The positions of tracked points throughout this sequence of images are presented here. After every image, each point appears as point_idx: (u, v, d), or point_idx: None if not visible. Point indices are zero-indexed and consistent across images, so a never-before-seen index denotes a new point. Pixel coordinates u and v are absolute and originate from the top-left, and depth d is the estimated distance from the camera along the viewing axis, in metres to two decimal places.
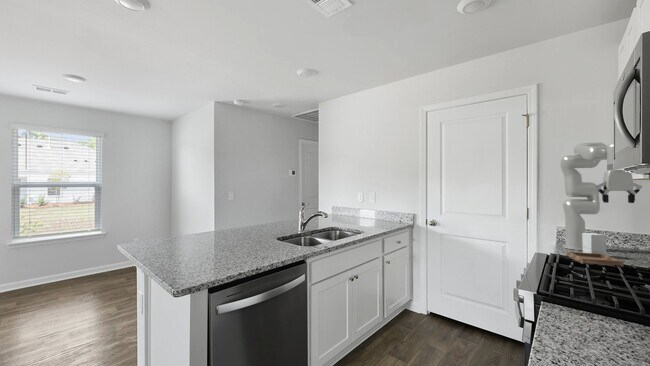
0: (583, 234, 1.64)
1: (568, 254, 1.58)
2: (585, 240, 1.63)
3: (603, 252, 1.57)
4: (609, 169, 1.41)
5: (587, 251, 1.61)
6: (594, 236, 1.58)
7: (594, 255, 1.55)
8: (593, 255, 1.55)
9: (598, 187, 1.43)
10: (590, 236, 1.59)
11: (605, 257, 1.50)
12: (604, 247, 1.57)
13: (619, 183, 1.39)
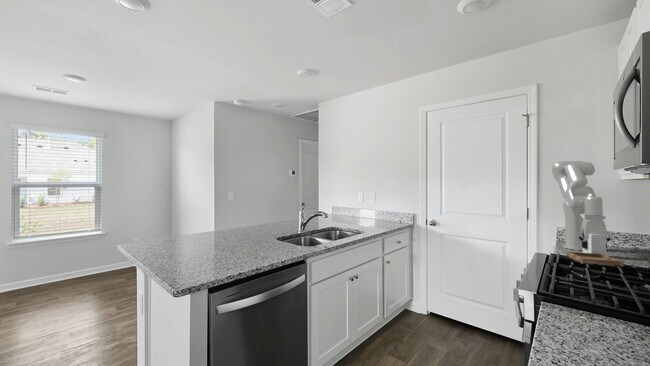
0: (583, 234, 1.64)
1: (568, 254, 1.58)
2: None
3: (603, 252, 1.57)
4: (586, 219, 1.62)
5: (587, 251, 1.61)
6: (594, 236, 1.58)
7: (594, 255, 1.55)
8: (593, 255, 1.55)
9: (578, 235, 1.63)
10: (590, 236, 1.59)
11: (605, 257, 1.50)
12: (604, 247, 1.57)
13: (594, 231, 1.59)
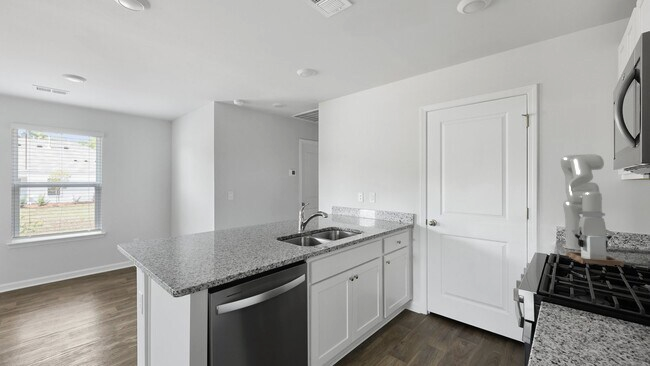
0: None
1: (568, 254, 1.58)
2: (583, 242, 1.52)
3: (603, 255, 1.46)
4: (584, 216, 1.50)
5: (585, 254, 1.50)
6: (593, 238, 1.47)
7: None
8: None
9: (574, 232, 1.52)
10: (589, 238, 1.48)
11: None
12: (604, 250, 1.46)
13: (593, 229, 1.48)
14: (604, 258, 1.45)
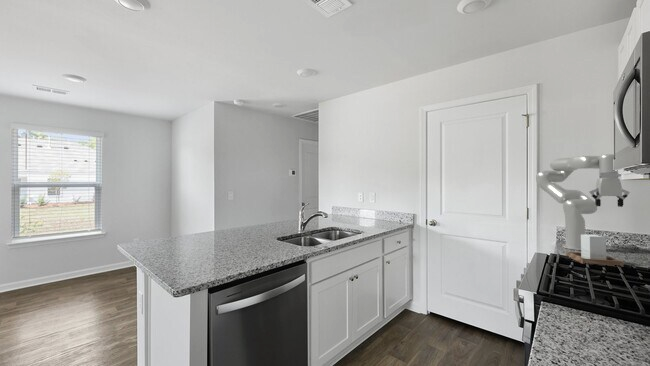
0: (581, 236, 1.53)
1: (568, 254, 1.58)
2: (583, 242, 1.52)
3: (603, 255, 1.46)
4: (601, 177, 1.62)
5: (585, 254, 1.50)
6: (593, 238, 1.47)
7: None
8: None
9: (591, 193, 1.63)
10: (589, 238, 1.48)
11: None
12: (604, 250, 1.46)
13: (609, 189, 1.59)
14: (604, 258, 1.45)
